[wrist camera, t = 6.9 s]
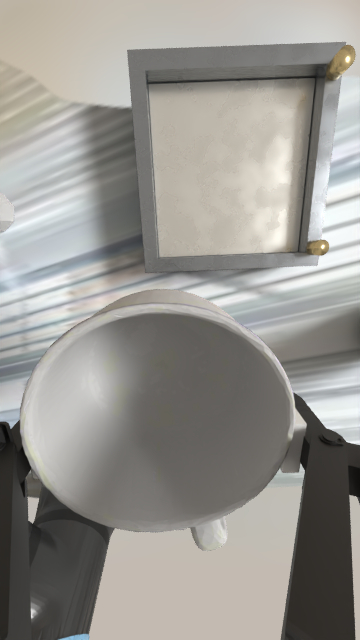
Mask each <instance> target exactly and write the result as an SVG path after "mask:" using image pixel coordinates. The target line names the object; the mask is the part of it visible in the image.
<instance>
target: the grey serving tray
mask: <svg viewBox="0 0 360 640" xmlns="http://www.w3.org/2000/svg"><path fill="white" fill-rule="evenodd" d="M127 52H128V65H129V77H130V89H131V101H132V114H133V126H134V138H135V150H136V163H137V175H138V187H139V199H140V212H141V224H142V236H143V248H144V260H145V273H153V272H176V271H200V270H223V269H247V268H270V267H293V266H317V265H318V258H319V255H324V254H326V253H327V251H328V249H329V243H328V242H327V241H326V240H321V234H322V227H323V219H324V211H325V203H326V195H327V187H328V179H329V171H330V164H331V156H332V148H333V140H334V132H335V124H336V116H337V108H338V101H339V93H340V85H341V77H342V74H343V73H344V72H345V71H346V70H347V69H348V68H349V67H350V66H351V65H352V64H353V62H354V60H355V50H354V48H353V47H352V46H351V45H346V42H333V43H306V44H305V43H304V44H279V45H278V44H276V45H249V46H223V47H222V46H221V47H194V48H166V49H142V50H141V49H140V50H127Z"/></svg>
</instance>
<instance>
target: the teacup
mask: <svg viewBox="0 0 360 640" xmlns="http://www.w3.org/2000/svg"><path fill="white" fill-rule="evenodd" d="M295 419H296V416H295V401H294V395H293V391H292V387H291V384H290V381H289V379H288V377H287V375H286V373H285V371H284V369H283V367H282V366H281V364H280V362H279V360H278V359H277V357H276V356H275V354H274V353H273V352H272V350H271V349H270V348H269V347H268V346H267V345H266V344H265V343H264V342H263V341H262V340H261V339H260V338H259V337H258V336H257V335H255V334H254V333H253V332H252V331H250V330H249V329H248V328H246V327H245V326H243V325H241V324H240V323H238V322H237V321H236V320H234V319H233V318H232V317H231V316H230V315H229V314H227V313H226V312H225V311H223V310H222V309H221V308H219V307H218V306H216V305H215V304H213V303H211V302H210V301H208V300H206V299H204V298H201V297H199V296H197V295H194V294H191V293H187V292H183V291H178V290H169V289H155V290H146V291H141V292H138V293H134V294H131V295H128V296H125V297H123V298H121V299H119V300H117V301H115V302H113V303H111V304H109V305H108V306H106V307H105V308H103V309H102V310H100V311H99V312H97V313H96V314H94V315H93V316H92V317H90V318H88V319H86V320H84V321H83V322H81V323H79V324H77V325H76V326H74V327H73V328H71V329H70V330H68V331H67V332H66V333H65V334H63V335H62V336H61V337H60V338H59V339H58V340H56V341H55V342H54V343H53V344H52V345H51V346H50V348H49V349H48V350H47V351H46V352H45V354H44V355H43V356H42V358H41V359H40V361H39V362H38V364H37V365H36V367H35V368H34V370H33V372H32V374H31V377H30V378H29V379H28V383H27V387H26V389H25V391H24V393H23V398H22V403H21V408H20V433H21V437H22V445H23V448H24V451H25V455H26V456H27V458H28V460H29V463H30V466H31V468H32V469H33V471H34V473H35V474H36V476H37V477H38V478H39V479H40V480H41V482H42V484H43V485H44V487H46V488H47V489H48V490H50V491H51V493H52V494H53V495H54V496H55V497H56V498H57V499H58V500H59V501H60V502H61V503H63V504H64V505H66V506H67V507H68V508H70V509H71V510H73V511H74V512H76V513H78V514H80V515H82V516H83V517H85V518H87V519H90V520H92V521H95V522H97V523H100V524H103V525H106V526H108V527H113V528H117V529H123V530H128V531H134V532H163V531H172V530H184V529H187V528H191V532H192V536H193V538H194V541H195V543H196V544H197V546H198V548H200V549H201V550H204V551H211V550H215V549H217V548H220V547H222V546H223V545H224V544H225V542H226V540H227V525H226V521H225V516H226V515H228V514H230V513H231V512H233V511H234V510H236V509H238V508H240V507H242V506H243V505H245V504H246V503H247V502H249V501H250V500H251V499H253V498H254V497H255V496H257V495H258V494H259V493H260V492H261V491H262V490H263V489H264V488H265V487H266V486H267V485H268V483H269V482H270V481H271V480H272V479H273V477H274V476H275V474H276V473H277V471H278V470H279V468H280V467H281V465H282V463H283V461H284V459H285V458H286V456H287V453H288V450H289V447H290V444H291V441H292V437H293V431H294V425H295Z"/></svg>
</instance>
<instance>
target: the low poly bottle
mask: <svg viewBox="0 0 360 640" xmlns="http://www.w3.org/2000/svg"><path fill="white" fill-rule="evenodd" d="M14 207H15V206H14V205H13V204H12V203H11V202H10V201H9V200H8V199H7V198H6V197H5V196H4V195H3V194H2V193H0V232H1V231H6V230H7V229H8V228H9V226H10V225H11V224H12V223H13V222H14Z"/></svg>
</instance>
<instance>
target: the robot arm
mask: <svg viewBox="0 0 360 640" xmlns="http://www.w3.org/2000/svg"><path fill="white" fill-rule="evenodd" d="M293 395H294V401H295V416H296V419H295V425H294V431H293V437H292V441H291V444H290V447H289V450H288V453H287V456H286V458H285V459H284V461H283V463H282V465H281V467H280V468H281V471H282V473H292V472H299V468H300V462H301V464H302V466H303V468H304V470H305V475H304V480H303V486H302V496H301V502H300V509H299V517H298V523H297V530H296V537H295V544H294V551H293V558H292V565H291V572H290V579H289V586H288V593H287V599H286V607H285V613H284V620H283V627H282V634H281V640H355V618H354V595H353V574H352V573H353V572H352V548H351V525H350V502H349V495H353V496H356V497H357V498H358V500H359V503H360V445H356V444H351V443H348V442H346V441H345V440H344V439H343V437H342V436H340V435H339V434H338V433H336V432H334V431H332V430H329V429H326V428H325V427H324V425H323V424H322V423H321V422H320V420H319V419H318V418H317V417H316V415H315V414H314V413H313V412H312V411H311V409H310V408H309V406H307V404H306V403H305V401H304V400H303V399H302V398H301V397H300V396H298V395H297V394H295V393H293ZM30 470H31V472H32V475H33V479H39V478H38V477H37V476H36V474H35V473H34V471H33V469H32V468H31V466H30V463H29V460H28V458H27V456H26V455H25V451H24V448H23V445H22V437H21V433H20V420H19V421H18V422H17V423H16V424H15V425H14V426H13V427H12V429H10V426H9V423H7V422H0V640H89V631H90V626H91V622H92V617H93V613H94V608H95V604H96V599H97V594H98V590H99V585H100V581H101V576H102V572H103V567H104V562H105V558H106V553H107V549H108V544H109V540H110V537H111V534H112V533H113V530H114V529H115V528H113V527H108V526H106V525H103V524H100V523H97V522H95V521H92V520H90V519H87V518H85V517H83V516H82V515H80V514H78V513H76V512H74V511H73V510H71V509H70V508H68V507H67V506H66V505H64V504H63V503H61V502H60V501H59V500H58V499H57V498H56V497H55V496H54V495H53V494H52V493H51V491H50V490H48V489H47V488H46V487H44V485H43V484H42V489H41V494H40V498H39V503H38V508H37V513H36V517H35V521H34V523H33V524H32V523H31V522H30V521H28V500H27V499H28V498H27V482H26V479H25V478H26V476H27V474H28V473H29V471H30Z"/></svg>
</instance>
